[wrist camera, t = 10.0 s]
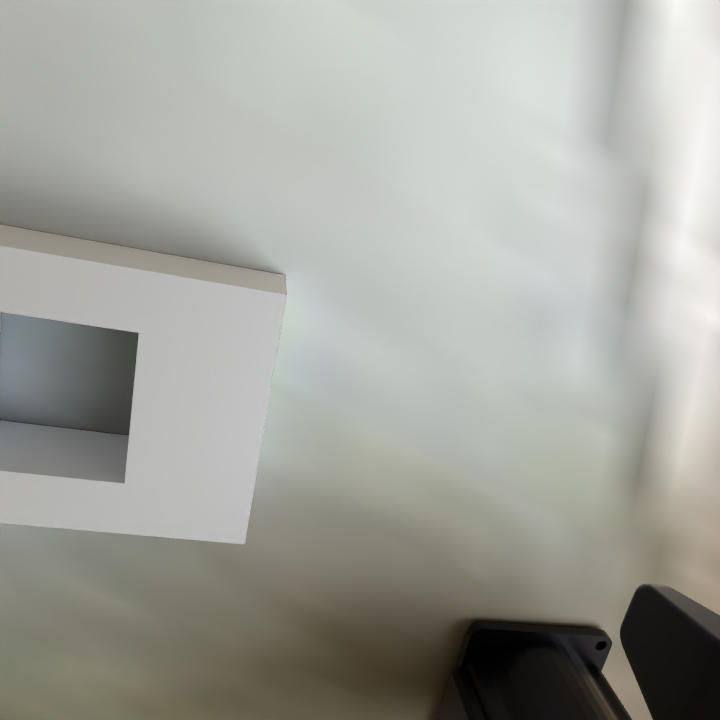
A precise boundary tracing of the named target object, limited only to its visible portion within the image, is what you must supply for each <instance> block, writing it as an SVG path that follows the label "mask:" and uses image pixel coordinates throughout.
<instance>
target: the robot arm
mask: <svg viewBox="0 0 720 720" xmlns="http://www.w3.org/2000/svg"><path fill="white" fill-rule="evenodd" d="M479 634H482V635H480V636H477V635H479ZM620 639H621V643H622V646H623V649H624V651H625V653H626V656H627V658H628V661H629V663H630V666H631V668H632V670H633V673H634V675H635V678H636V680H637V682H638V685H639V687H640V690H641V692H642V694H643V697H644V699H645V702H646V704H647V707H648V709H649V711H650V714H651V716H652V719H653V720H720V615H718V614H716V613H714V612H713V611H711V610H709V609H707V608H706V607H704V606H702V605H700V604H699V603H697V602H695V601H693V600H692V599H690V598H688V597H687V596H685V595H683V594H681V593H680V592H678V591H676V590H674V589H673V588H671V587H668V586H665V585H653V584H643V585H640V586H639V587H638V588H637V589H636V591H635V593H634V595H633V597H632V600H631V602H630V605H629V607H628V610H627V612H626V615H625V617H624V619H623V622H622V624H621V628H620ZM611 646H612V641H611V639H610V638H609V636H608V635H607V633H606V632H605V631H604V630H600V629H587V628H572V627H557V626H542V625H528V624H513V623H498V622H483V621H480V622H475V623H473V624H472V625H471V626H469V628H468V630H467V632H466V635H465V639H464V642H463V645H462V648H461V651H460V654H459V658H458V661H457V664H456V667H455V668H454V669H453V670H452V672H451V674H450V677H449V680H448V683H447V686H446V690H445V693H444V696H443V699H442V702H441V706H440V709H439V712H438V719H439V720H632V719H631V717H630V716H629V714H628V713H627V711H626V709H625V708H624V706H623V705H622V703H621V702H620V700H619V699H618V697H617V695H616V694H615V692H614V691H613V689H612V688H611V686H610V685H609V683H608V681H607V680H606V678H605V677H604V675H603V674H602V672H601V671H602V668H603V666H604V663H605V661H606V658H607V656H608V653H609V651H610V649H611Z"/></svg>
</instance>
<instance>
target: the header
mask: <svg viewBox="0 0 720 720" xmlns="http://www.w3.org/2000/svg"><path fill="white" fill-rule="evenodd" d="M286 297H287V290H286V278H285V275H281V274H276V273H270V272H265V271H259V270H253V269H248V268H242V267H237V266H231V265H225V264H220V263H214V262H208V261H203V260H197V259H192V258H186V257H180V256H175V255H169V254H163V253H158V252H152V251H147V250H141V249H135V248H130V247H124V246H119V245H113V244H107V243H102V242H96V241H90V240H85V239H79V238H74V237H68V236H62V235H57V234H51V233H45V232H40V231H34V230H29V229H23V228H17V227H12V226H6V225H1V224H0V331H1V312H4V313H10V314H17V315H23V316H30V317H37V318H43V319H50V320H56V321H63V322H70V323H76V324H83V325H90V326H96V327H103V328H109V329H116V330H123V331H129V332H136V333H139V336H138V347H137V357H136V368H135V378H134V389H133V399H132V410H131V420H130V431H129V436H127V435H119V434H110V433H102V432H93V431H85V430H76V429H68V428H59V427H51V426H42V425H34V424H26V423H17V422H9V421H0V523H6V524H17V525H29V526H40V527H52V528H63V529H74V530H86V531H97V532H109V533H120V534H132V535H143V536H155V537H166V538H178V539H189V540H201V541H212V542H223V543H235V544H245V540H246V534H247V528H248V522H249V516H250V510H251V504H252V498H253V492H254V486H255V481H256V475H257V469H258V463H259V457H260V451H261V445H262V439H263V433H264V427H265V421H266V416H267V410H268V404H269V398H270V392H271V386H272V380H273V374H274V368H275V362H276V356H277V351H278V345H279V339H280V333H281V327H282V321H283V315H284V309H285V303H286Z"/></svg>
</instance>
